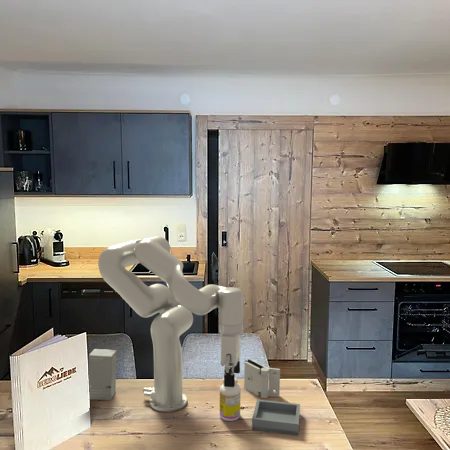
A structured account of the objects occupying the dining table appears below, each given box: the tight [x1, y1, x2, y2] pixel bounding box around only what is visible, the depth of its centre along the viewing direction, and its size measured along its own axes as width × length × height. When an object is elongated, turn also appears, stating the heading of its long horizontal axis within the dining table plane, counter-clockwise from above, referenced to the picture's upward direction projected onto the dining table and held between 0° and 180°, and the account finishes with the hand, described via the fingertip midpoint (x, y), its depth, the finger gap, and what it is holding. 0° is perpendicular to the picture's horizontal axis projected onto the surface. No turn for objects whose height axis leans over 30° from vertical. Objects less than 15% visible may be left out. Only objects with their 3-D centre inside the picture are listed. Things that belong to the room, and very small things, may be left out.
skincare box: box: [87, 348, 117, 401], centre depth 158 cm, size 8×7×16 cm
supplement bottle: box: [219, 375, 241, 422], centre depth 146 cm, size 7×7×13 cm
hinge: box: [243, 358, 281, 399], centre depth 161 cm, size 14×5×10 cm, turn 51°
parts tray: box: [251, 398, 301, 436], centre depth 143 cm, size 14×12×4 cm
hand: (232, 379), depth 145 cm, fingers open, 9 cm apart
